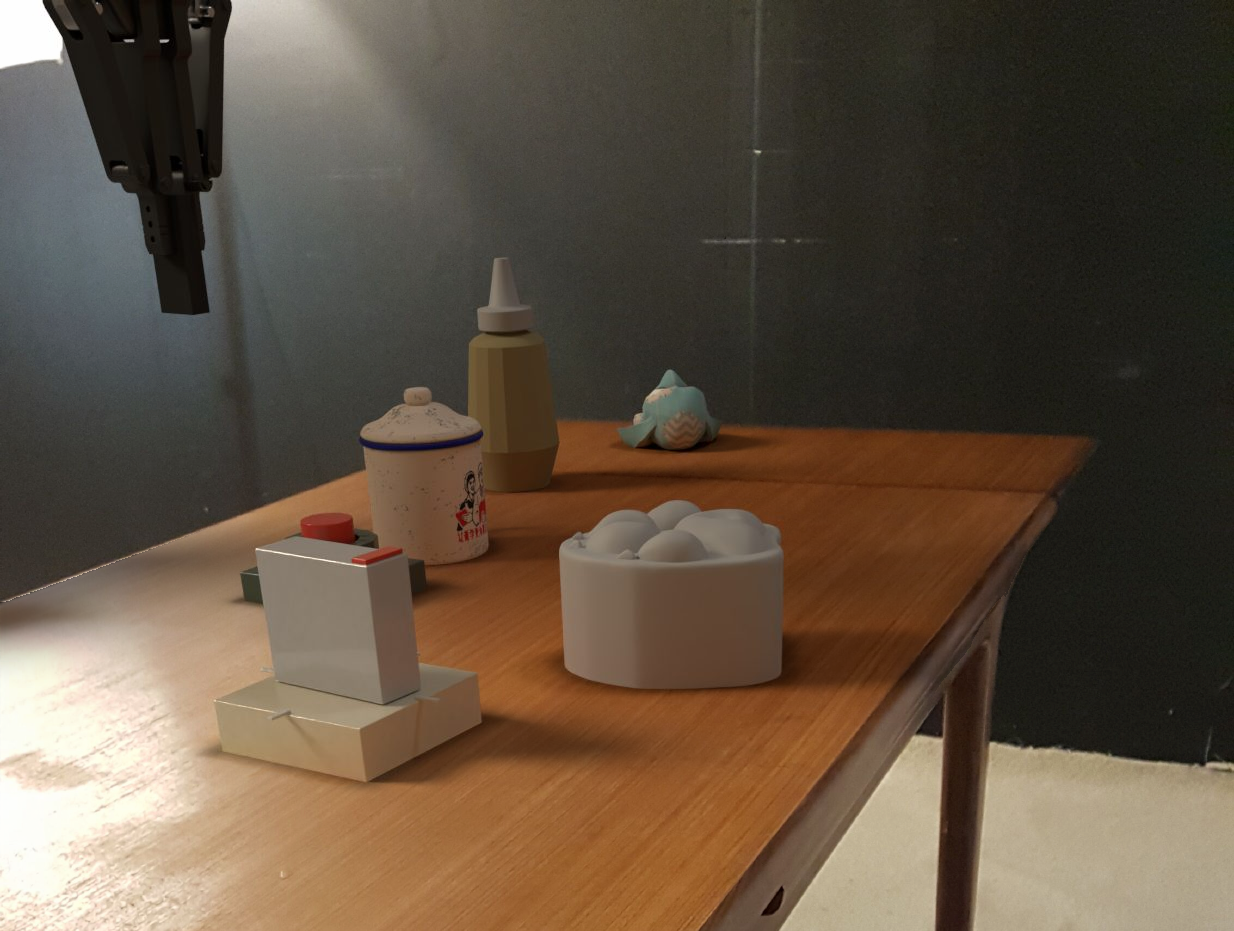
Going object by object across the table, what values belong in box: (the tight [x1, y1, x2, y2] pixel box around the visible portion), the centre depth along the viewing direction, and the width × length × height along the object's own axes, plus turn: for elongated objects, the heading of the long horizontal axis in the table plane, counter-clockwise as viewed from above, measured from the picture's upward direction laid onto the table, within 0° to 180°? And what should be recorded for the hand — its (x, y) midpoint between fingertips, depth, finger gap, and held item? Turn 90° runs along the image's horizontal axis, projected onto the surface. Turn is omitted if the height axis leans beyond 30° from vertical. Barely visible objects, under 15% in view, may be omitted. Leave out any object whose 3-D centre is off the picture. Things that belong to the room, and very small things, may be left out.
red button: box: [299, 512, 356, 544], centre depth 108 cm, size 4×4×2 cm
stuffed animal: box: [615, 369, 724, 451], centre depth 152 cm, size 11×7×12 cm
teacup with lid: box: [358, 386, 490, 567], centre depth 118 cm, size 12×9×12 cm
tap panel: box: [213, 651, 483, 783], centre depth 85 cm, size 12×12×3 cm
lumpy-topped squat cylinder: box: [558, 499, 785, 690], centre depth 93 cm, size 10×13×9 cm
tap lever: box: [254, 536, 421, 705], centre depth 82 cm, size 8×3×7 cm, turn 54°
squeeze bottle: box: [467, 257, 560, 493], centre depth 134 cm, size 8×8×18 cm
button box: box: [239, 528, 428, 605], centre depth 109 cm, size 10×8×4 cm
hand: (185, 312), depth 99 cm, fingers closed
